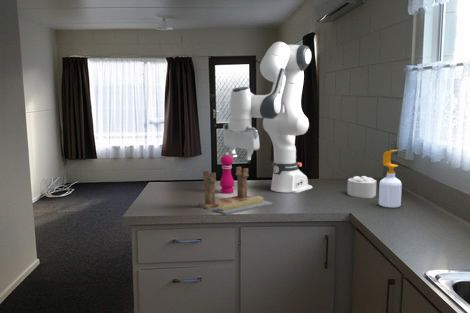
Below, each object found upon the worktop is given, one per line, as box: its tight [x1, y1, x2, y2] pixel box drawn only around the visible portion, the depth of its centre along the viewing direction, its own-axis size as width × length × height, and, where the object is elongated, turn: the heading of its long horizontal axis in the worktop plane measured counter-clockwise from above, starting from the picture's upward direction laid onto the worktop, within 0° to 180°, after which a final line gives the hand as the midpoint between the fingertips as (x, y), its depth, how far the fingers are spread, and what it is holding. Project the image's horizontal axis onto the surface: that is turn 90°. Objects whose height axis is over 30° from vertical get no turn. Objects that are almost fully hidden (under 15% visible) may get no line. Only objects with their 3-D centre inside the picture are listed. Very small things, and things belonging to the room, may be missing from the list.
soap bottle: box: [378, 149, 403, 209], centre depth 188 cm, size 9×9×25 cm
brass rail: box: [219, 195, 264, 211], centre depth 186 cm, size 22×3×2 cm, turn 128°
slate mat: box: [212, 199, 274, 216], centre depth 187 cm, size 26×9×1 cm, turn 128°
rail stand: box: [198, 166, 252, 210], centre depth 194 cm, size 25×7×15 cm, turn 128°
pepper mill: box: [219, 151, 235, 195], centre depth 215 cm, size 7×7×20 cm
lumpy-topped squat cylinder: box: [346, 175, 377, 199], centre depth 209 cm, size 10×13×9 cm
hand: (241, 158), depth 184 cm, fingers open, 8 cm apart
